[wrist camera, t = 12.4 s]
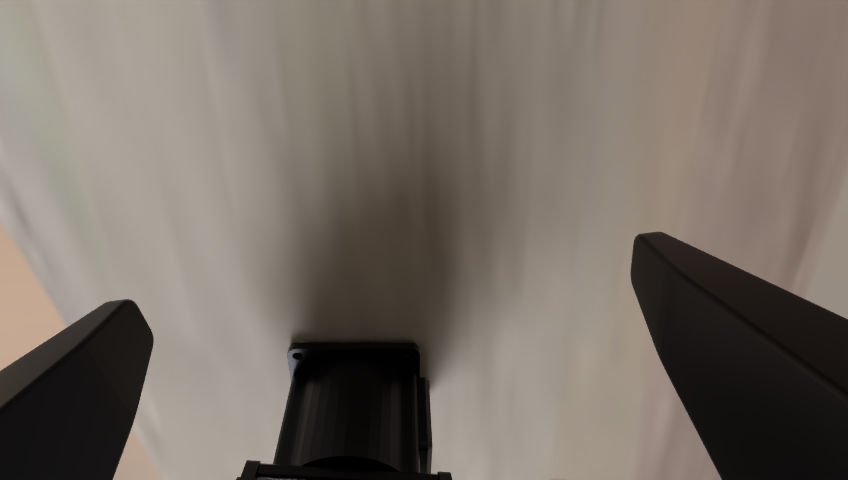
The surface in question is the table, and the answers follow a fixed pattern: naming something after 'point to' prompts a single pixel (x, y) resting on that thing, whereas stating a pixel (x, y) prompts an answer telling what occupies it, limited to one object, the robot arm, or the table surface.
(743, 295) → the robot arm
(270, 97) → the table surface
